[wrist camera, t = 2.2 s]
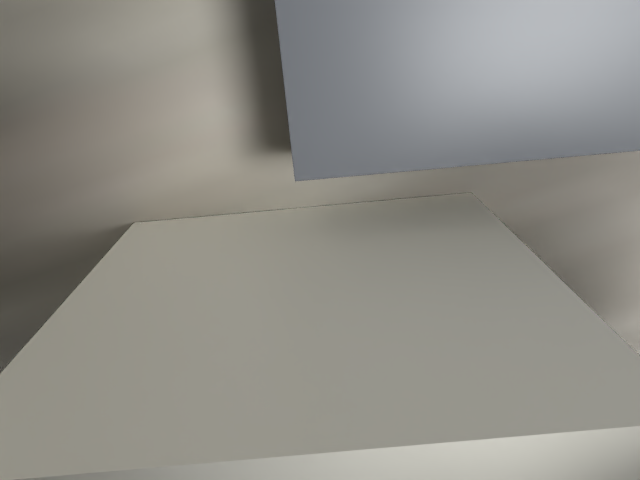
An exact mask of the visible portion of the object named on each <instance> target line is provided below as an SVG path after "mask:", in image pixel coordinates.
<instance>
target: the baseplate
mask: <svg viewBox="0 0 640 480" xmlns="http://www.w3.org/2000/svg"><path fill="white" fill-rule="evenodd" d="M275 7H276V16H277V25H278V34H279V43H280V52H281V61H282V70H283V79H284V88H285V97H286V106H287V114H288V123H289V132H290V141H291V150H292V159H293V168H294V177H295V181H304V180H315V179H326V178H337V177H349V176H360V175H371V174H382V173H394V172H405V171H416V170H427V169H438V168H450V167H461V166H472V165H483V164H495V163H506V162H517V161H528V160H539V159H551V158H562V157H573V156H584V155H596V154H607V153H618V152H629V151H640V0H275Z"/></svg>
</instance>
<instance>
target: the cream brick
mask: <svg viewBox="0 0 640 480" xmlns="http://www.w3.org/2000/svg"><path fill="white" fill-rule="evenodd" d="M0 480H640V356H639V355H638V354H637V353H636V352H635V351H634V350H633V349H632V348H631V347H630V346H629V345H628V344H627V343H626V342H625V341H624V340H623V339H622V338H621V337H620V336H619V335H618V334H617V333H616V332H615V331H614V330H612V329H611V328H610V327H609V326H608V325H607V324H606V323H605V322H604V321H603V320H602V319H601V318H600V317H599V316H598V315H597V314H596V313H595V312H594V311H593V310H592V309H591V308H590V307H589V306H588V305H587V304H586V303H585V302H584V301H583V300H582V299H581V298H580V297H579V296H577V295H576V294H575V293H574V292H573V291H572V290H571V289H570V288H569V287H568V286H567V285H566V284H565V283H564V282H563V281H562V280H561V279H560V278H559V277H558V276H557V275H556V274H555V273H554V272H553V271H552V270H551V269H550V268H549V267H548V266H547V265H546V264H545V263H543V262H542V261H541V260H540V259H539V258H538V257H537V256H536V255H535V254H534V253H533V252H532V251H531V250H530V249H529V248H528V247H527V246H526V245H525V244H524V243H523V242H522V241H521V240H520V239H519V238H518V237H517V236H516V235H515V234H514V233H513V232H512V231H511V230H510V229H508V228H507V227H506V226H505V225H504V224H503V223H502V222H501V221H500V220H499V219H498V218H497V217H496V216H495V215H494V214H493V213H492V212H491V211H490V210H489V209H488V208H487V207H486V206H485V205H484V204H483V203H482V202H481V201H480V200H479V199H478V198H477V197H476V196H474V195H473V194H472V193H461V194H450V195H438V196H427V197H416V198H405V199H394V200H382V201H371V202H360V203H349V204H338V205H327V206H315V207H304V208H293V209H282V210H271V211H259V212H248V213H237V214H226V215H215V216H204V217H192V218H181V219H170V220H159V221H148V222H136V223H133V224H132V225H131V227H130V228H129V229H128V230H127V231H126V232H125V233H124V235H123V236H122V237H121V238H120V239H119V240H118V241H117V242H116V244H115V245H114V246H113V247H112V248H111V249H110V250H109V251H108V253H107V254H106V255H105V256H104V257H103V258H102V259H101V260H100V262H99V263H98V264H97V265H96V266H95V267H94V268H93V270H92V271H91V272H90V273H89V274H88V275H87V276H86V277H85V279H84V280H83V281H82V282H81V283H80V284H79V285H78V286H77V288H76V289H75V290H74V291H73V292H72V293H71V294H70V295H69V297H68V298H67V299H66V300H65V301H64V302H63V303H62V305H61V306H60V307H59V308H58V309H57V310H56V311H55V312H54V314H53V315H52V316H51V317H50V318H49V319H48V320H47V321H46V323H45V324H44V325H43V326H42V327H41V328H40V329H39V331H38V332H37V333H36V334H35V335H34V336H33V337H32V338H31V340H30V341H29V342H28V343H27V344H26V345H25V346H24V347H23V349H22V350H21V351H20V352H19V353H18V354H17V355H16V356H15V358H14V359H13V360H12V361H11V362H10V363H9V364H8V366H7V367H6V368H5V369H4V370H3V371H2V372H1V373H0Z"/></svg>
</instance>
